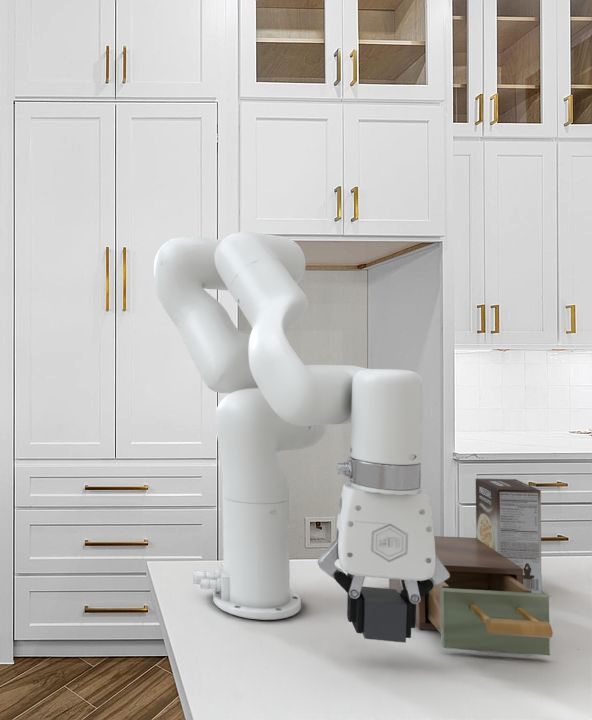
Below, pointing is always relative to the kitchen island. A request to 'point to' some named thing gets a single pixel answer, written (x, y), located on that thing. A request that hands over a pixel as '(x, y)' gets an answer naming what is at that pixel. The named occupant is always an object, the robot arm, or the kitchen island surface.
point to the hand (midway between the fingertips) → (380, 628)
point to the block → (384, 614)
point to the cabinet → (463, 566)
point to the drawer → (489, 614)
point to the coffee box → (511, 524)
